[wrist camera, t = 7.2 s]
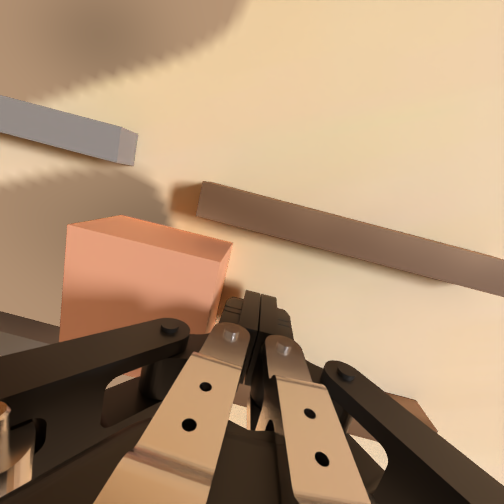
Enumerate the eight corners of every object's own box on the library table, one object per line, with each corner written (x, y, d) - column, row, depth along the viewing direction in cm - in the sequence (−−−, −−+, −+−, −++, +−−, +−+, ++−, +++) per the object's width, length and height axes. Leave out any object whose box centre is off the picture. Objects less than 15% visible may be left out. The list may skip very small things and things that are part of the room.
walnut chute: (212, 182, 13) (202, 181, 11) (487, 254, 13) (525, 266, 11) (174, 360, 16) (161, 384, 14) (406, 421, 16) (425, 454, 14)
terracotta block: (122, 214, 14) (67, 224, 10) (233, 241, 14) (220, 262, 10) (110, 315, 15) (57, 358, 12) (211, 340, 15) (192, 391, 12)
